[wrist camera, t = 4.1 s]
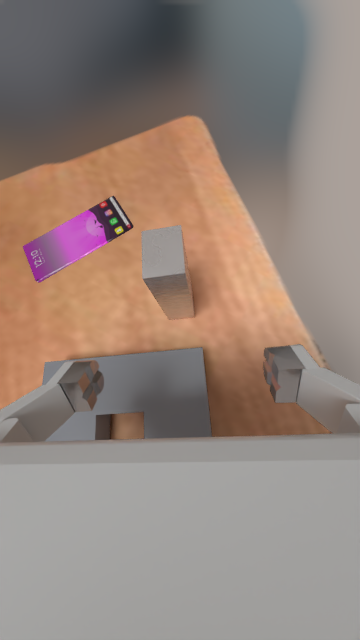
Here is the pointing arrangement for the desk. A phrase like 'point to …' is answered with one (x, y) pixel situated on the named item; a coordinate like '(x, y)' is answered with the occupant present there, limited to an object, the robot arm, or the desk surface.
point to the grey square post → (168, 271)
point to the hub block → (144, 396)
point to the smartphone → (76, 238)
